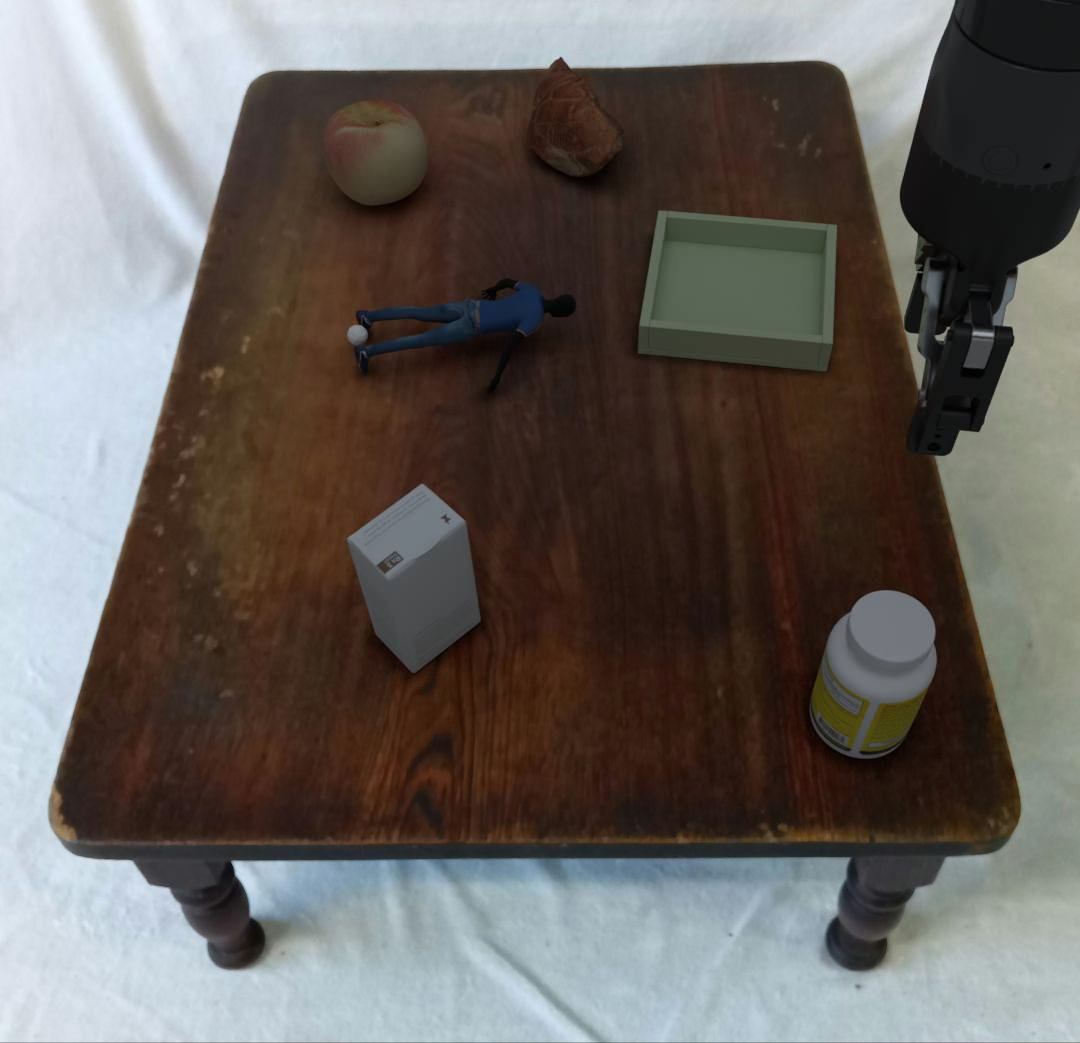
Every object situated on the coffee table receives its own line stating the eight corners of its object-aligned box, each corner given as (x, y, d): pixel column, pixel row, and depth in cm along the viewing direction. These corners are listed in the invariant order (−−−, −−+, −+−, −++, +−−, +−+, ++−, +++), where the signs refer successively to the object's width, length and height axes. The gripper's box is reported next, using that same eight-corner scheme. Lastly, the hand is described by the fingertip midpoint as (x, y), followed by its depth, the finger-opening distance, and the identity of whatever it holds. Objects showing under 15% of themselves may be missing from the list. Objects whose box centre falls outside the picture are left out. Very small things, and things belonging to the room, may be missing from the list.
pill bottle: (912, 684, 76) (955, 590, 67) (903, 772, 72) (947, 685, 63) (814, 663, 77) (843, 567, 68) (800, 748, 73) (829, 660, 64)
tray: (830, 253, 100) (837, 224, 97) (826, 372, 92) (833, 343, 89) (656, 238, 101) (658, 209, 99) (637, 353, 94) (638, 325, 91)
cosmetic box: (442, 584, 81) (422, 474, 72) (485, 625, 79) (470, 517, 70) (371, 638, 79) (340, 532, 69) (413, 682, 77) (388, 579, 67)
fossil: (522, 68, 111) (569, 6, 102) (601, 97, 114) (654, 39, 105) (508, 190, 107) (556, 137, 99) (591, 216, 111) (644, 167, 102)
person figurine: (358, 419, 93) (587, 383, 91) (340, 380, 89) (578, 342, 87) (363, 319, 99) (577, 283, 97) (346, 279, 95) (568, 241, 93)
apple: (315, 190, 107) (298, 112, 100) (395, 148, 110) (383, 70, 103) (372, 238, 103) (357, 160, 96) (453, 192, 106) (444, 115, 99)
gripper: (1129, 243, 45) (1007, 502, 58) (1090, 29, 53) (991, 299, 66) (923, 226, 46) (849, 486, 59) (917, 19, 54) (853, 287, 67)
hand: (924, 387), depth 62 cm, fingers open, 8 cm apart
